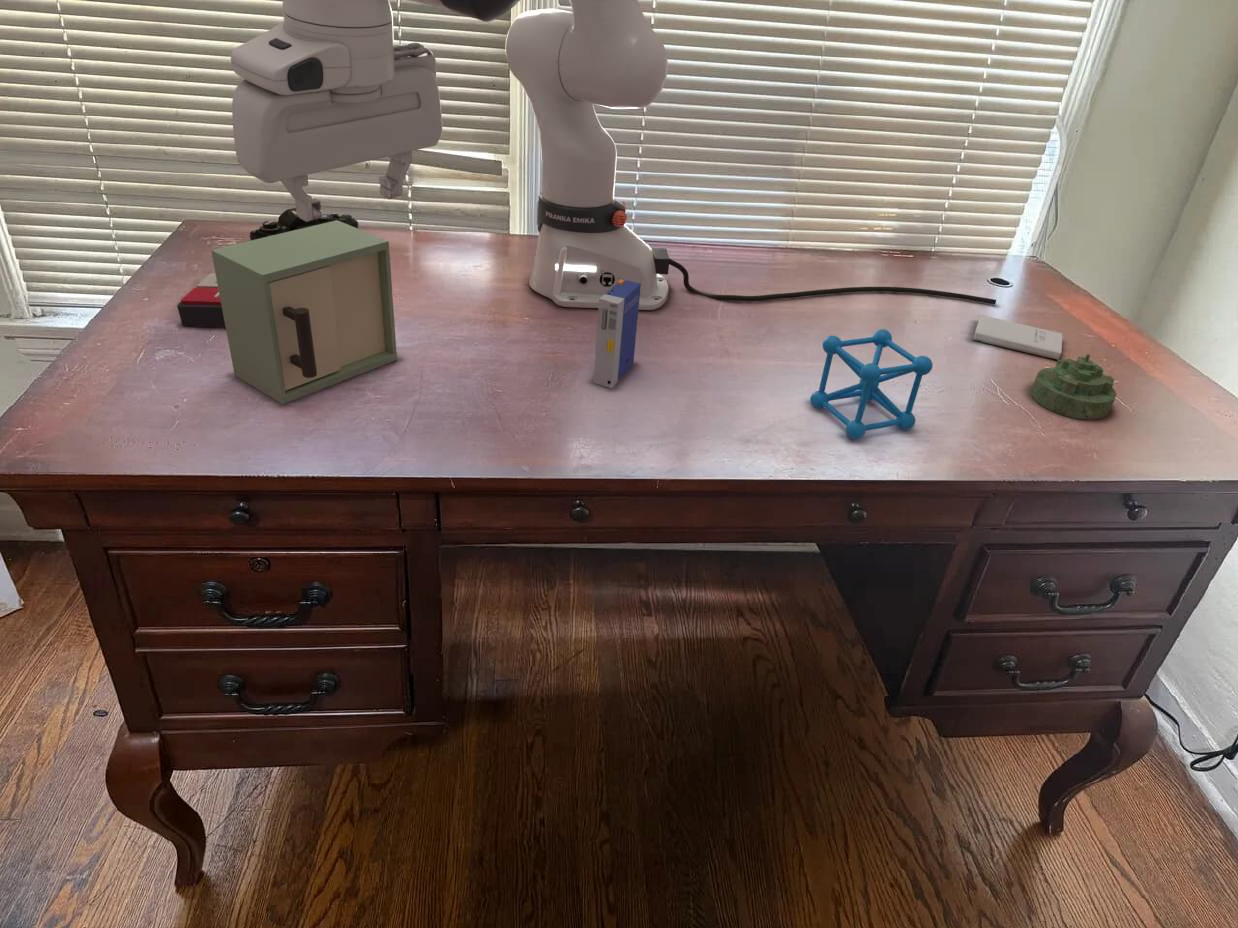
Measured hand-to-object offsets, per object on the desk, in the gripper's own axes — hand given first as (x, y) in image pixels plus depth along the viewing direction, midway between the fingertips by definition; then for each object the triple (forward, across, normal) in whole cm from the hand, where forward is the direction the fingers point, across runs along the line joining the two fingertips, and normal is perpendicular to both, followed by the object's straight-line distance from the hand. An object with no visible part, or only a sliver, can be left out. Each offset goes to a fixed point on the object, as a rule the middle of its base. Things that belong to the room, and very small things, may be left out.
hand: (352, 206), depth 83 cm
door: (+26, -1, -10) cm, 28 cm away
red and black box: (+30, -8, -35) cm, 47 cm away
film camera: (+31, -23, -45) cm, 59 cm away
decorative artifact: (+24, -71, +59) cm, 96 cm away
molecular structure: (+24, -45, +40) cm, 65 cm away
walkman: (+26, -31, +11) cm, 42 cm away
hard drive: (+25, -86, +47) cm, 102 cm away
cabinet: (+28, -5, -16) cm, 32 cm away
